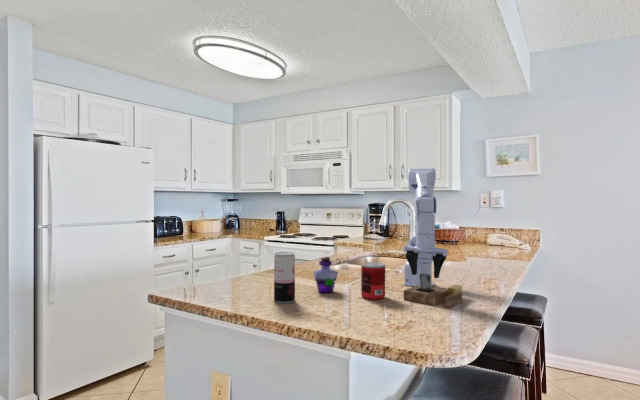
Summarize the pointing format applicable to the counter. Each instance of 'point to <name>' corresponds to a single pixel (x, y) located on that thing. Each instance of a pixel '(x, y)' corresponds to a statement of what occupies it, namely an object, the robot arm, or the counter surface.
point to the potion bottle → (325, 276)
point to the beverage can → (284, 277)
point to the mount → (432, 296)
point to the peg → (425, 282)
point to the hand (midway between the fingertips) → (425, 276)
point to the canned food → (373, 281)
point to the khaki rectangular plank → (454, 289)
